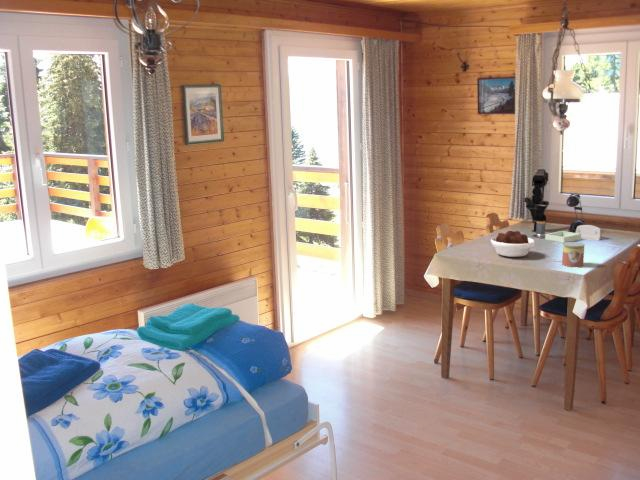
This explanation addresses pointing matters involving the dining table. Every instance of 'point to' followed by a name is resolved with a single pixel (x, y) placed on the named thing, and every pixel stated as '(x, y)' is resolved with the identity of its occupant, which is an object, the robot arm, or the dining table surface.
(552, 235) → the bin
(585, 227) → the white arched block
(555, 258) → the dining table surface
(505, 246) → the bowl of brown food
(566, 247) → the canned food
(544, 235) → the stud
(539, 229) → the strut
